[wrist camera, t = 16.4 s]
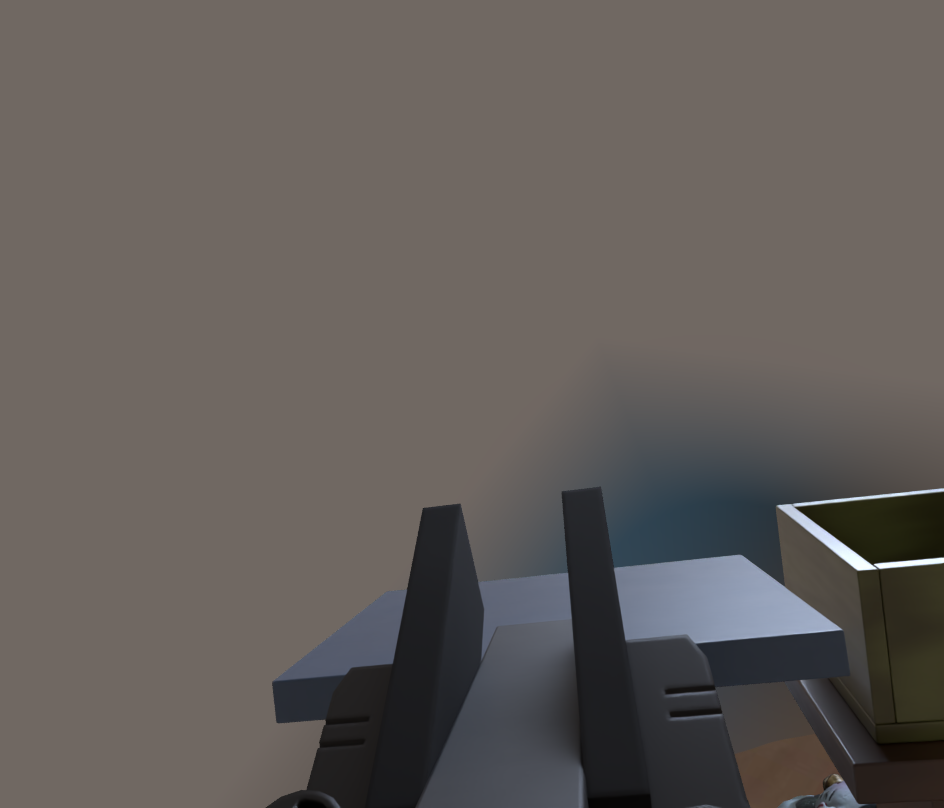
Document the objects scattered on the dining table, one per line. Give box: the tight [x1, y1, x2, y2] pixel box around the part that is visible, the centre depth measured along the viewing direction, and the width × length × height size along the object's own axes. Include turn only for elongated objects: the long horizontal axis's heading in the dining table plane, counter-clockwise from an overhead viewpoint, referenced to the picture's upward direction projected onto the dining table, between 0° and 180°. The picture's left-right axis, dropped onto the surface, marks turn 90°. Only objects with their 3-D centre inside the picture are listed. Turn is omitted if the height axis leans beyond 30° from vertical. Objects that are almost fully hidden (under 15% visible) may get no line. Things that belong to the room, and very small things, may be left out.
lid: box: [272, 555, 850, 808], centre depth 18 cm, size 13×21×2 cm, turn 173°
